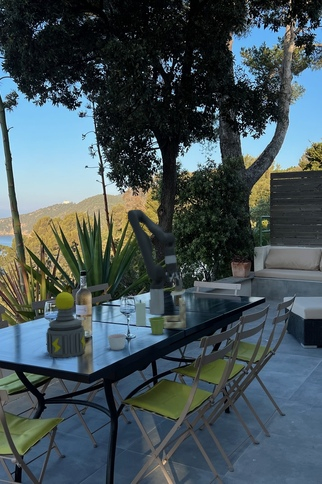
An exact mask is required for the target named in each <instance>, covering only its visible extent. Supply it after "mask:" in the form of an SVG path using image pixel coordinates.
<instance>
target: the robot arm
mask: <svg viewBox="0 0 322 484" xmlns="http://www.w3.org/2000/svg"><path fill="white" fill-rule="evenodd" d="M127 220H128V222H129V224H130V227H131V229H132V231H133V234H134V236H135V239H136V241H137V245H138V248H139V250H140V253H141V256H142V259H143V263H144V266H145V270H146V271H145V272H146V274H147V276H148V278H149V279H151V280H152V282H151V283H150V284H149V298H150V299H149V301H148V304H149V305H148V306H149V308H148V309H149V314H150V315H163V314H165V302H164V301H165V300H164V299H165V297H164V295H165V294H164V286H165V282H167V284H168V287H169V288H173V283H172V280H173V279H174V281H175V280H176V286H179V280H180V279H181V278H182V277H181V273H180V270H178V262H177V256H176V251H175V247H176V236H175V235H174V233H173V232H165V229H164V228H163V227H161V226H160V225H158V224H157V223H156V222H155V221H153V220H152V219H151V218H150V217H149V216H148V215H147V214H146V213H145V212H144V211H143V210H141V209H130V210H128V212H127ZM141 224H142V225H144V226H146V229H147V230H148V231H149V233H151V234H152V235H153V236H154V237H156V238H157V239H158V241H159V242H161V244H166V247H164V250H163V253H164V262H165V269H166V272H165V269H164V268H163V267H164V266H162V265H161V264H155V262H154V258H153V252H154V251H153V250H154V246H153V243H152V239H151V238H150V236H149V235H148V233H147V232H146V231H145V230H144V229H143V227H142V226H141Z"/></svg>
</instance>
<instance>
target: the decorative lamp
mask: <svg viewBox="0 0 322 484" xmlns="http://www.w3.org/2000/svg"><path fill="white" fill-rule="evenodd" d="M54 303H55V304H54V305H55V306H56V308H57V313H56V317H55V319H53V320H52V321H50V322H49V323H48V328H47V329H46V330H47V331H46V336H45V337H46V351H47V353H48V355H49V357H52V358H57V359H66V358H73V357H74V358H75V357H78V356H81V355H83V354H84V353H85V350H86V330H85V328H84V325H82V320H81V319H79V318H75V316H74V312H73V309H72V308H73V306H74V303H75V299H74V297H73V295H72V293H70V292H67V291H61V292H60V293H58V294H57V296H56V297H55V300H54Z"/></svg>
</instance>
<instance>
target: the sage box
mask: <svg viewBox="0 0 322 484" xmlns="http://www.w3.org/2000/svg"><path fill="white" fill-rule="evenodd" d="M135 326H136V327H146V326H147V309H146V301H142V299H139V301H136V302H135Z"/></svg>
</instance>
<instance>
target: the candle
mask: <svg viewBox="0 0 322 484" xmlns="http://www.w3.org/2000/svg"><path fill="white" fill-rule="evenodd" d="M126 336H127V335H126V334H124V333H114V334H109V335H107V339H108V344H109V348H110V350H113V351H119V350H123V349H125V343H126Z"/></svg>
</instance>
